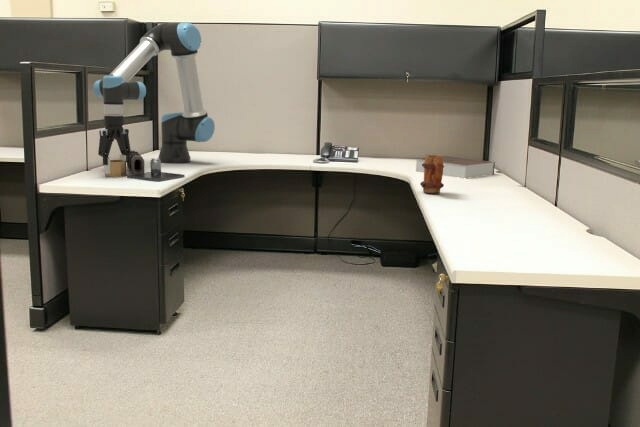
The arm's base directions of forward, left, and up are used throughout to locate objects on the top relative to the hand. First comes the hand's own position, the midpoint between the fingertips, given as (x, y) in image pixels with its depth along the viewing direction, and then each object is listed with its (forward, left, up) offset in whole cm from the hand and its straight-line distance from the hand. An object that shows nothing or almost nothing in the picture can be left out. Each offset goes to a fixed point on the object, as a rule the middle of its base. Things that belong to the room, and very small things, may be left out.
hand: (115, 171), depth 263 cm
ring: (0, 0, -2) cm, 2 cm away
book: (-107, +109, -2) cm, 153 cm away
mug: (-41, +120, -2) cm, 127 cm away
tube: (-16, -5, -2) cm, 17 cm away
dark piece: (-7, +15, -2) cm, 17 cm away
